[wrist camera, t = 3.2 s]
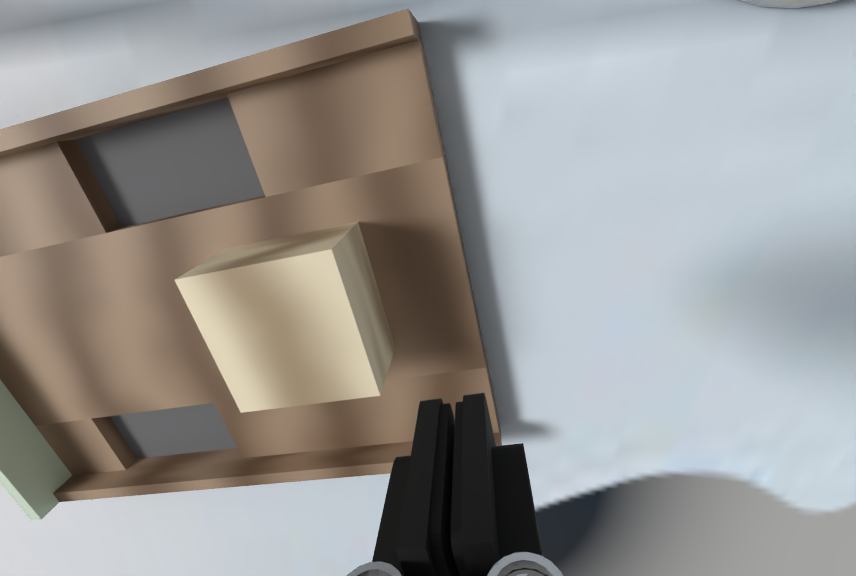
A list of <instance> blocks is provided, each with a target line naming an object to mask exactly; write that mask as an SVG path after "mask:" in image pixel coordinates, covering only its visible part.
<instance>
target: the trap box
mask: <svg viewBox="0 0 856 576" xmlns="http://www.w3.org/2000/svg"><path fill="white" fill-rule="evenodd" d="M227 97H228V99H229V101H230V104H231V107H232V109H233V112H234V115H235V117H236V120H237V123H238V125H239V128H240V130H241V133H242V136H243V138H244V141H245V144H246V146H247V149H248V152H249V154H250V157H251V160H252V162H253V165H254V168H255V170H256V173H257V176H258V178H259V181H260V183H261V186H262V189H263V191H264V194H265V195H263V196H259V197H254V198H250V199H245V200H241V201H237V202H232V203H228V204H223V205H219V206H214V207H210V208H206V209H201V210H197V211H192V212H188V213H184V214H179V215H175V216H170V217H166V218H161V219H157V220H153V221H148V222H144V223H139V224H135V225H131V226H126V227H122V228H121V226H120V224H119V222H118V220H117V218H116V216H115V215H114V213H113V211H112V209H111V207H110V205H109V203H108V201H107V199H106V197H105V196H104V194H103V192H102V190H101V188H100V186H99V184H98V182H97V180H96V178H95V177H94V175H93V173H92V171H91V169H90V167H89V165H88V163H87V161H86V159H85V158H84V156H83V154H82V152H81V150H80V148H79V146H78V144H77V142H76V139H80V138H83V137H87V136H91V135H94V134H98V133H101V132H105V131H108V130H112V129H116V128H119V127H123V126H126V125H130V124H134V123H137V122H141V121H144V120H148V119H152V118H155V117H159V116H162V115H166V114H169V113H173V112H177V111H180V110H184V109H187V108H191V107H195V106H198V105H202V104H205V103H209V102H212V101H216V100H220V99H223V98H227ZM354 222H358V223H359V226H360V230H361V233H362V237H363V240H364V243H365V247H366V250H367V253H368V257H369V260H370V263H371V267H372V270H373V273H374V277H375V280H376V283H377V287H378V290H379V294H380V297H381V300H382V304H383V307H384V310H385V314H386V317H387V320H388V324H389V327H390V330H391V334H392V337H393V340H394V344H395V347H396V348H395V351H394V354H393V357H392V360H391V363H390V367H389V370H388V373H387V376H386V379H385V382H384V385H383V389H382V392H381V395H380V396H374V397H366V398H357V399H349V400H341V401H333V402H325V403H317V404H309V405H300V406H292V407H284V408H276V409H268V410H260V411H251V412H243V413H241V412H240V410H239V408H238V406H237V404H236V402H235V400H234V398H233V396H232V394H231V392H230V390H229V388H228V386H227V384H226V382H225V380H224V378H223V376H222V374H221V372H220V370H219V368H218V366H217V364H216V362H215V360H214V358H213V356H212V354H211V352H210V350H209V348H208V346H207V344H206V342H205V340H204V338H203V336H202V334H201V332H200V330H199V328H198V326H197V324H196V322H195V320H194V318H193V316H192V314H191V312H190V310H189V308H188V306H187V304H186V302H185V300H184V298H183V296H182V294H181V292H180V290H179V288H178V286H177V284H176V282H175V279H176V278H178V277H180V276H181V275H183V274H185V273H186V272H188V271H190V270H191V269H193V268H195V267H196V266H198V265H200V264H201V263H203V262H205V261H206V260H208V259H210V258H211V257H213V256H215V255H216V254H218V253H220V252H222V251H223V250H225V249H227V248H231V247H236V246H241V245H246V244H251V243H256V242H261V241H266V240H271V239H275V238H280V237H285V236H290V235H295V234H300V233H305V232H310V231H315V230H319V229H324V228H329V227H334V226H339V225H344V224H349V223H354ZM0 380H1V381H2V382H3V384H4V385H5V386H6V388H7V389H8V390H9V392H10V393H11V394H12V396H13V397H14V398H15V400H16V401H17V402H18V404H19V405H20V406H21V408H22V409H23V410H24V412H25V413H26V414H27V416H28V417H29V418H30V420H31V421H32V422H33V424H34V425H35V426H36V428H37V429H38V430H39V432H40V433H41V434H42V436H43V437H44V438H45V440H46V441H47V442H48V444H49V445H50V446H51V448H52V449H53V450H54V452H55V453H56V454H57V456H58V457H59V458H60V460H61V461H62V462H63V464H64V465H65V466H66V468H67V469H68V470H69V472H70V473H71V474H72V476H71V477H70V478H69V479H68V480H67V481H66V482H65V483H63V484H62V485H61V486H60V487H59V488H58V489H57V490H56V491H55V492H54V493H53V495H54V496H55V497H56V498H57V500H58V501H59V502H65V501H76V500H88V499H99V498H111V497H122V496H134V495H145V494H157V493H168V492H180V491H191V490H203V489H214V488H226V487H237V486H249V485H261V484H272V483H284V482H295V481H307V480H318V479H330V478H341V477H353V476H364V475H376V474H387V473H391V471H392V466H393V462H394V460H395V458H396V457H402V456H411V451H412V445H413V439H414V433H415V427H416V421H417V415H418V408H419V403H420V401H424V400H432V399H439V398H441V399H442V401H443V403H444V404H446V403H450V404H451V407H452V411H453V415H454V419H455V406H456V402H461V401H463V396H464V395H470V394H478V393H485V396H486V401H487V405H488V410H489V415H490V420H491V424H492V429H493V434H494V439H495V443H496V446H502V444H501V431H500V424H499V420H498V415H497V410H496V405H495V400H494V395H493V390H492V385H491V380H490V375H489V370H488V365H487V360H486V356H485V351H484V346H483V341H482V336H481V331H480V326H479V321H478V316H477V311H476V306H475V301H474V296H473V292H472V287H471V282H470V277H469V272H468V267H467V262H466V257H465V252H464V247H463V242H462V237H461V232H460V228H459V223H458V218H457V213H456V208H455V203H454V198H453V193H452V188H451V183H450V178H449V173H448V168H447V164H446V159H445V154H444V149H443V144H442V139H441V134H440V129H439V124H438V119H437V114H436V109H435V104H434V100H433V95H432V90H431V85H430V80H429V75H428V70H427V65H426V60H425V55H424V50H423V45H422V40H421V35H420V31H419V26H418V22H417V20H416V19H415V17H414V16H413V15H412V13H411V12H410V11H409V9H406V10H402V11H399V12H396V13H392V14H389V15H385V16H382V17H379V18H375V19H372V20H369V21H365V22H362V23H358V24H355V25H352V26H348V27H345V28H342V29H338V30H335V31H331V32H328V33H325V34H321V35H318V36H315V37H311V38H308V39H304V40H301V41H298V42H294V43H291V44H288V45H284V46H281V47H277V48H274V49H271V50H267V51H264V52H261V53H257V54H254V55H250V56H247V57H244V58H240V59H237V60H234V61H230V62H227V63H223V64H220V65H217V66H213V67H210V68H207V69H203V70H200V71H196V72H193V73H190V74H186V75H183V76H180V77H176V78H173V79H169V80H166V81H163V82H159V83H156V84H153V85H149V86H146V87H142V88H139V89H136V90H132V91H129V92H126V93H122V94H119V95H115V96H112V97H109V98H105V99H102V100H99V101H95V102H92V103H88V104H85V105H82V106H78V107H75V108H72V109H68V110H65V111H61V112H58V113H55V114H51V115H48V116H45V117H41V118H38V119H34V120H31V121H28V122H24V123H21V124H18V125H14V126H11V127H7V128H4V129H1V130H0ZM208 403H214V404H215V406H216V408H217V410H218V412H219V413H220V415H221V417H222V419H223V421H224V423H225V425H226V427H227V429H228V431H229V432H230V434H231V436H232V438H233V440H234V442H235V444H236V446H237V448H231V449H222V450H213V451H203V452H194V453H184V454H175V455H165V456H156V457H146V458H136V457H135V455H134V454H133V452H132V451H131V449H130V448H129V446H128V445H127V443H126V441H125V440H124V438H123V437H122V435H121V434H120V432H119V431H118V429H117V428H116V426H115V425H114V423H113V422H112V420H111V419H110V417H109V416H115V415H123V414H131V413H139V412H146V411H154V410H162V409H169V408H177V407H185V406H193V405H200V404H208Z"/></svg>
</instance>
